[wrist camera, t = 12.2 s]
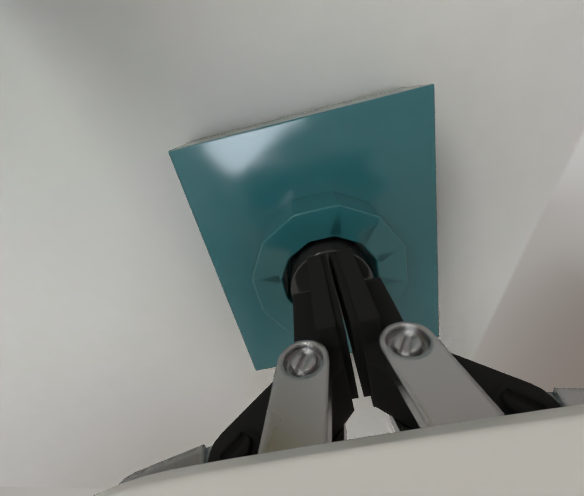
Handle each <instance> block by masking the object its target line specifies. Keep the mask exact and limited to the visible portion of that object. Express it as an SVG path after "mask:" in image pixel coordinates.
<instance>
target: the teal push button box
mask: <svg viewBox="0 0 584 496" xmlns="http://www.w3.org/2000/svg"><path fill="white" fill-rule="evenodd" d="M169 155H170V157H171V160H172V162H173V165H174V167H175V170H176V172H177V175H178V177H179V180H180V182H181V185H182V187H183V190H184V192H185V195H186V197H187V200H188V202H189V205H190V207H191V210H192V212H193V215H194V217H195V220H196V222H197V225H198V227H199V230H200V232H201V235H202V237H203V240H204V242H205V245H206V247H207V250H208V252H209V255H210V257H211V260H212V262H213V265H214V267H215V270H216V272H217V275H218V277H219V280H220V282H221V285H222V287H223V290H224V292H225V295H226V297H227V300H228V302H229V305H230V307H231V310H232V312H233V314H234V317H235V319H236V322H237V324H238V327H239V329H240V332H241V334H242V337H243V339H244V342H245V344H246V347H247V349H248V352H249V354H250V357H251V359H252V362H253V364H254V367H255V369H256V370H262V369H267V368H273V367H276V366H277V361H278V359H279V356H280V354H281V353H282V351H283V350H284V349H285V348H286V347H288V346H289V345H290V344H293V343H294V322H293V297H292V294H291V278H290V258H291V257H292V256H293V255H294V254H295V253H296V252H298V251H299V250H300V249H301V248H302V247H304V246H305V245H306V244H307V243H308V242H311V241H315V240H320V239H325V238H329V237H334V236H336V237H340V238H343V239H347V240H351V241H354V242H357V243H358V245H359V247H360V249H361V251H362V253H363V255H364V257H365V259H366V261H367V263H368V265H369V267H370V269H371V271H372V273H373V277H374V278H377V277H380V278H381V279H382V281H383V283H384V285H385V287H386V289H387V291H388V293H389V294H390V296H391V298H392V300H393V302H394V304H395V306H396V308H397V310H398V311H399V313H400V315H401V317H402V319H403V321H404V322H414V323H418V324H421V325H423V326H425V327H427V328H428V329H429V330H430V331H432V332H433V333H434V335H435V336H436V337H439V317H438V263H437V210H436V156H435V103H434V84H428V85H419V86H410V87H402V88H398V89H394V90H390V91H386V92H382V93H378V94H374V95H370V96H366V97H362V98H358V99H355V100H351V101H347V102H343V103H339V104H335V105H331V106H327V107H323V108H319V109H315V110H311V111H307V112H304V113H300V114H296V115H292V116H288V117H284V118H280V119H276V120H272V121H268V122H264V123H260V124H257V125H253V126H249V127H245V128H241V129H237V130H233V131H229V132H225V133H221V134H217V135H213V136H209V137H206V138H202V139H198V140H194V141H191V142H188V143H186V144H184V145H182V146H179V147H177V148H175V149H172V150H170V151H169ZM343 322H344V318H343ZM344 327H345V332H346V337H347V342H348V347H349V352H350V353H352V349H351V345H350V341H349V337H348V334H347V330H346V326H345V322H344Z"/></svg>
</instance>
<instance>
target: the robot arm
mask: <svg viewBox="0 0 584 496" xmlns="http://www.w3.org/2000/svg"><path fill="white" fill-rule="evenodd" d="M306 258H307V266H308V274H309V282H310V290H311V291H307V292H302V293H297V294H293V322H294V343H293V344H290V345H289V346H288V347H286V348H285V349H284V350H283V351H282V353H281V354H280V356H279V359H278V361H277V366H276V371H275V375H274V380H273V382H272V383H271V384H270V385H269V386H268V387H267V388H266V389H265V390H264V391H263V392H262V393H261V394H260V395H259V396H258V397H257V398H256V399H255V400H254V401H253V402H252V403H251V404H250V405H249V406H248V407H247V408H246V409H245V410H244V411H243V412H242V413H241V414H240V415H239V417H238V418H237V419H236V420H235V421H234V422H233V423H232V424H231V425H230V426H229V427H228V428H227V429H226V430H225V431H224V432H223V433H222V434H221V435H220V436H219V437H218V439H217V440H216V441H215V442H214V444H213V446H210V447H208V448H206V447H205V445H201V446H199V447H196V448H194V449H191V450H189V451H186V452H184V453H182V454H179V455H177V456H174V457H172V458H169V459H167V460H164V461H162V462H159V463H157V464H154V465H152V466H150V467H147V468H145V469H142V470H140V471H137V472H135V473H133V474H131V475H130V476H128V477H126V478H125V479H124V480H123V481H122V482H121V483H120V484H119V485H117V486H115V487H112V488H110V489H108V490H105V491H103V492H101V493H98V494H96V495H94V496H584V389H577V388H554V390H553V392H545V391H544V390H543V389H541V388H539V387H537V386H534V385H532V384H531V383H528V382H525V381H523V380H520V379H518V378H515V377H512V376H510V375H507V374H505V373H502V372H499V371H497V370H494V369H491V368H489V367H486V366H484V365H481V364H478V363H476V362H473V361H471V360H468V359H465V358H463V357H460V356H458V355H455V354H452V353H450V352H449V350H448V349H447V348H446V347H445V346H444V345H443V344H442V343H441V341H440V340H439V339H438V338H437V337H436V336H435V335H434V333H433V332H432V331H430V330H429V329H428V328H427V327H425V326H423V325H421V324H418V323H414V322H404V321H403V319H402V317H401V315H400V313H399V311H398V310H397V308H396V306H395V304H394V302H393V300H392V298H391V296H390V294H389V293H388V291H387V289H386V287H385V285H384V283H383V281H382V279H381V278H380V277H377V278H372V279H367V280H364V278H363V276H362V274H361V271H360V269H359V267H358V264H357V262H356V260H355V257H354V255H353V253H352V250H351V248H348V249H343V250H338V251H336V255H333V256H331V258H332V263H333V268H334V273H335V278H336V283H337V288H338V293H339V298H340V303H341V309H342V313H343V318H344V322H345V326H346V330H347V334H348V337H349V341H350V345H351V349H352V353H353V356H354V360H355V364H356V368H357V372H358V376H359V379H360V383H361V387H362V391H363V395H364V397H366V396H371V399H372V403H373V406H374V407H377V408H379V409H381V410H382V411H384V412H386V413H387V414H389V417H390V420H391V423H392V425H393V427H394V430H395V432H394V433H387V434H381V435H375V436H368V437H362V438H356V439H349V440H347V430H346V425H345V422H346V421H347V420H348V418H349V417H350V416H351V414H352V413H353V411H354V407H353V402H352V399H354V398H359V397H358V392H357V387H356V382H355V377H354V372H353V367H352V362H351V357H350V352H349V347H348V342H347V337H346V332H345V327H344V322H343V318H342V314H341V310H340V306H339V303H338V299H337V295H336V291H335V287H334V283H333V279H332V275H331V271H330V267H329V264H328V260H327V257H323V258H321V255H320V254H319V255H315V256H310V257H306Z"/></svg>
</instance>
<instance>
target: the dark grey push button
mask: <svg viewBox="0 0 584 496" xmlns="http://www.w3.org/2000/svg"><path fill="white" fill-rule="evenodd" d="M348 248H351V250H352V253H353V255H354V257H355V260H356V262H357V264H358V267H359V269H360V271H361V274H362V276H363V278H364V280H367V279H372V278H374V277H373V273H372V271H371V269H370V267H369V265H368V263H367V261H366V259H365V257H364V255H363V253H362V251H361V249H360V247H359V245H358V243H357V242H354V241H351V240H347V239H343V238H340V237H336V236H334V237H329V238H325V239H320V240H315V241H311V242H308V243H307V244H306V245H305V246H304V247H302V248H301V249H300V250H299V251H298V252H296V253H295V254H294V255H293V256H292V257H291V258H290V278H291V294H292V297H293V294H297V293H302V292H307V291H311V290H310V282H309V274H308V266H307V258H306V257H310V256H315V255H319V254H320V255H321V258H323V257H327V260H328V264H329V267H330V271H331V275H332V279H333V283H334V287H335V291H336V295H337V299H338V303H339V306H340V310H341V314H342V318H343V313H342V309H341V303H340V298H339V293H338V288H337V283H336V278H335V273H334V268H333V263H332V258H331V256H333V255H336V251H338V250H343V249H348Z"/></svg>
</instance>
